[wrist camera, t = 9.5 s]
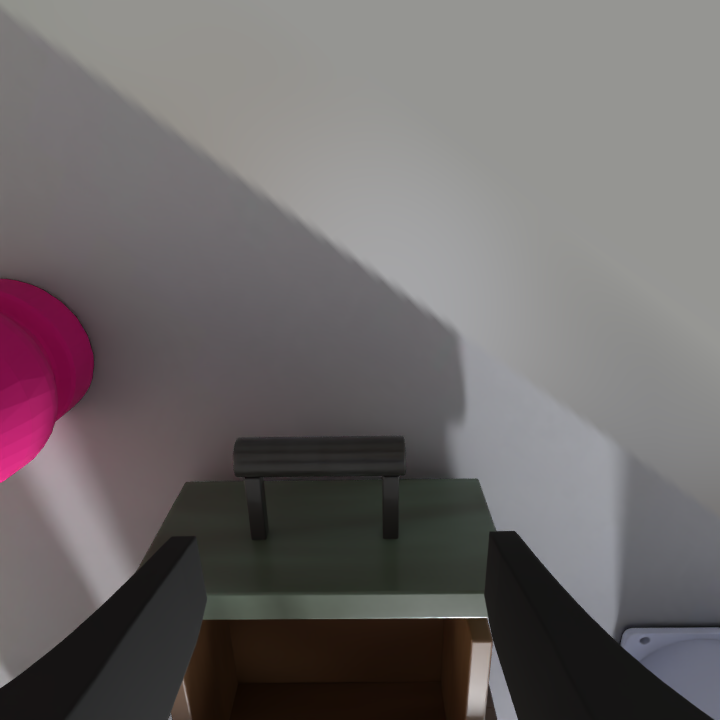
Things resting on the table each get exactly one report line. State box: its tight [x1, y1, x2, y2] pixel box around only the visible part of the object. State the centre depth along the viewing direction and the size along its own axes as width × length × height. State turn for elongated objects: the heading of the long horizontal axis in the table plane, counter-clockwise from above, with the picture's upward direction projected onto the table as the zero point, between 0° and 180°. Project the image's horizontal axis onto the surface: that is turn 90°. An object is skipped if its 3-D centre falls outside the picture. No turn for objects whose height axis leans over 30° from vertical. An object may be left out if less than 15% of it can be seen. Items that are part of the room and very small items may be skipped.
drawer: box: [136, 436, 496, 720], centre depth 22 cm, size 17×13×6 cm
